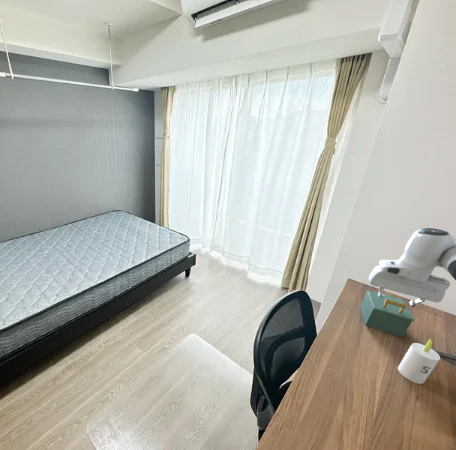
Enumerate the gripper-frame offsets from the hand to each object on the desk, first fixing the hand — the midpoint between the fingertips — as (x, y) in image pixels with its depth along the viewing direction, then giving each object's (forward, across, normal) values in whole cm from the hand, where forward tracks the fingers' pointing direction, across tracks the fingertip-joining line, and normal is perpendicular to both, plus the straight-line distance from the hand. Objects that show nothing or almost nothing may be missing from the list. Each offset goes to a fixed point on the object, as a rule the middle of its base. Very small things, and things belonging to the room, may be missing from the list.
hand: (396, 301), depth 93 cm
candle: (+14, -3, +21) cm, 26 cm away
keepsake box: (+14, 0, -5) cm, 15 cm away
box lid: (+5, 0, -4) cm, 6 cm away
